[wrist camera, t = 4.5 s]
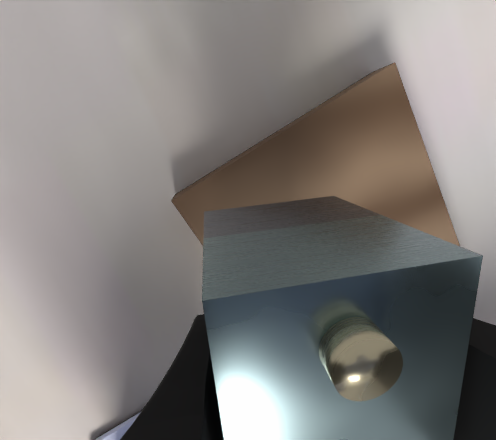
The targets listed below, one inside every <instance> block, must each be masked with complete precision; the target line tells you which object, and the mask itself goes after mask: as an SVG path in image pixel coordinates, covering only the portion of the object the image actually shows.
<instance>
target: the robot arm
mask: <svg viewBox="0 0 496 440" xmlns="http://www.w3.org/2000/svg"><path fill="white" fill-rule="evenodd" d="M95 440H224V438H223V431H222V425H221V418H220V412H219V406H218V399H217V393H216V386H215V380H214V373H213V367H212V361H211V354H210V348H209V341H208V335H207V329H206V322H205V316H204V314H202V315H197V317H196V318H195V320H194V322H193V324H192V327H191V329H190V331H189V333H188V335H187V337H186V339H185V341H184V343H183V345H182V347H181V349H180V351H179V353H178V354H177V356H176V358H175V360H174V362H173V364H172V365H171V367H170V369H169V370H168V372H167V374H166V375H165V377H164V378H163V380H162V382H161V383H160V385H159V386H158V388H157V390H156V391H155V393H154V394H153V396H152V397H151V399H150V400H149V402H148V403H147V404H146V406H145V407H144V409H143V410H142V411H141V412H140V413H138V414H136V415H135V416H133V417H131V418H130V419H128V420H127V421H125V422H123V423H122V424H120V425H118V426H117V427H115V428H113V429H112V430H110V431H108V432H107V433H105V434H103V435H102V436H100V437H98V438H97V439H95ZM453 440H496V325H492V324H489V323H486V322H483V321H480V320H477V319H474V318H473V320H472V326H471V332H470V339H469V345H468V351H467V357H466V364H465V370H464V376H463V382H462V388H461V395H460V401H459V407H458V413H457V420H456V426H455V432H454V438H453Z"/></svg>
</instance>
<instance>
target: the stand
mask: <svg viewBox="0 0 496 440" xmlns="http://www.w3.org/2000/svg"><path fill="white" fill-rule="evenodd" d="M327 196H336V197H338V198H341V199H343V200H346V201H348V202H351V203H353V204H356V205H358V206H361V207H363V208H365V209H368V210H370V211H373V212H375V213H378V214H380V215H383V216H385V217H388V218H390V219H393V220H395V221H398V222H400V223H403V224H405V225H408V226H410V227H413V228H415V229H418V230H420V231H423V232H425V233H428V234H430V235H433V236H435V237H437V238H440V239H442V240H445V241H447V242H450V243H452V244H455V245H457V246H460V245H459V242H458V239H457V236H456V234H455V231H454V228H453V225H452V222H451V219H450V217H449V214H448V211H447V208H446V205H445V202H444V200H443V197H442V194H441V191H440V188H439V185H438V183H437V180H436V177H435V174H434V171H433V168H432V166H431V163H430V160H429V157H428V154H427V151H426V149H425V146H424V143H423V140H422V137H421V134H420V132H419V129H418V126H417V123H416V120H415V117H414V115H413V112H412V109H411V106H410V103H409V100H408V98H407V95H406V92H405V89H404V86H403V83H402V81H401V78H400V75H399V72H398V69H397V66H396V64H395V63H392V64H390V65H388V66H385V67H383V68H381V69H379V70H376V71H374V72H372V73H371V74H369V75H367V76H366V77H364V78H363V79H361V80H359V81H358V82H356V83H355V84H353V85H351V86H350V87H348V88H346V89H345V90H343V91H342V92H340V93H338V94H337V95H335V96H334V97H332V98H330V99H329V100H327V101H325V102H324V103H322V104H321V105H319V106H317V107H316V108H314V109H313V110H311V111H309V112H308V113H306V114H304V115H303V116H301V117H300V118H298V119H296V120H295V121H293V122H292V123H290V124H288V125H287V126H285V127H284V128H282V129H280V130H279V131H277V132H275V133H274V134H272V135H271V136H269V137H267V138H266V139H264V140H263V141H261V142H259V143H258V144H256V145H254V146H253V147H251V148H250V149H248V150H246V151H245V152H243V153H242V154H240V155H238V156H237V157H235V158H233V159H232V160H230V161H229V162H227V163H225V164H224V165H222V166H221V167H219V168H217V169H216V170H214V171H213V172H211V173H209V174H208V175H206V176H204V177H203V178H201V179H200V180H198V181H196V182H195V183H193V184H192V185H190V186H188V187H187V188H185V189H183V190H182V191H180V192H179V193H177V194H175V196H174V197H173V199H172V203H173V204H174V205H175V207H176V208H177V210H178V211H179V212H180V214H181V215H182V217H183V218H184V220H185V221H186V222H187V224H188V225H189V227H190V228H191V229H192V231H193V232H194V234H195V235H196V237H197V238H198V239H199V241H200V242H201V244H202V245H203V238H204V212H205V211H213V210H221V209H230V208H238V207H246V206H254V205H262V204H270V203H278V202H287V201H295V200H303V199H311V198H319V197H327Z"/></svg>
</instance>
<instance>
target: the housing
mask: <svg viewBox="0 0 496 440" xmlns="http://www.w3.org/2000/svg"><path fill="white" fill-rule="evenodd" d="M482 257H483V256H482V255H480V254H477V253H475V252H472V251H470V250H467V249H465V248H462V247H460V246H457V245H455V244H452V243H450V242H447V241H445V240H442V239H440V238H437V237H435V236H433V235H430V234H428V233H425V232H423V231H420V230H418V229H415V228H413V227H410V226H408V225H405V224H403V223H400V222H398V221H395V220H393V219H390V218H388V217H385V216H383V215H380V214H378V213H375V212H373V211H370V210H368V209H365V208H363V207H361V206H358V205H356V204H353V203H351V202H348V201H346V200H343V199H341V198H338V197H336V196H327V197H319V198H311V199H303V200H295V201H287V202H278V203H270V204H262V205H254V206H246V207H238V208H230V209H221V210H213V211H205V212H204V238H203V285H202V303H203V309H204V316H205V322H206V329H207V335H208V341H209V348H210V354H211V361H212V367H213V373H214V380H215V386H216V393H217V399H218V406H219V412H220V418H221V425H222V431H223V438H224V440H453V438H454V432H455V426H456V420H457V413H458V407H459V401H460V395H461V388H462V382H463V376H464V370H465V364H466V357H467V351H468V345H469V339H470V332H471V326H472V320H473V314H474V307H475V301H476V295H477V289H478V282H479V276H480V270H481V264H482Z"/></svg>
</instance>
